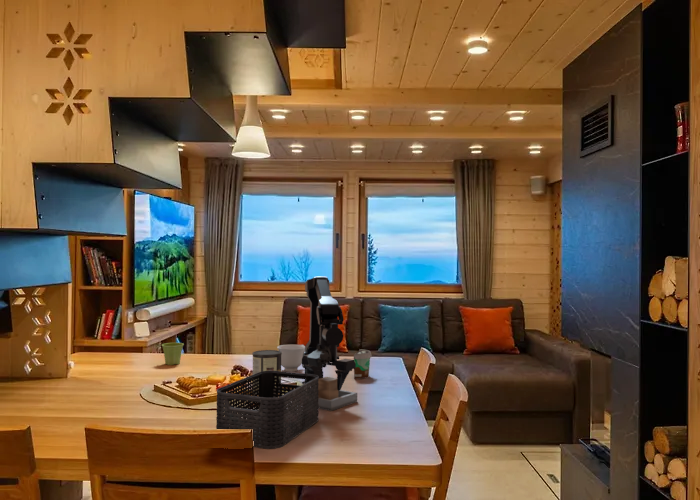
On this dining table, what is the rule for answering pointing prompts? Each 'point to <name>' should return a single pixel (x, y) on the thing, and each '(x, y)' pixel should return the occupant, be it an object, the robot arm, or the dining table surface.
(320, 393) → the walnut block
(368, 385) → the dining table surface
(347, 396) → the serving tray
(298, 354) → the teacup
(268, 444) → the storage bin
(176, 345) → the plant pot
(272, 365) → the coffee can
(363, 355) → the food container
